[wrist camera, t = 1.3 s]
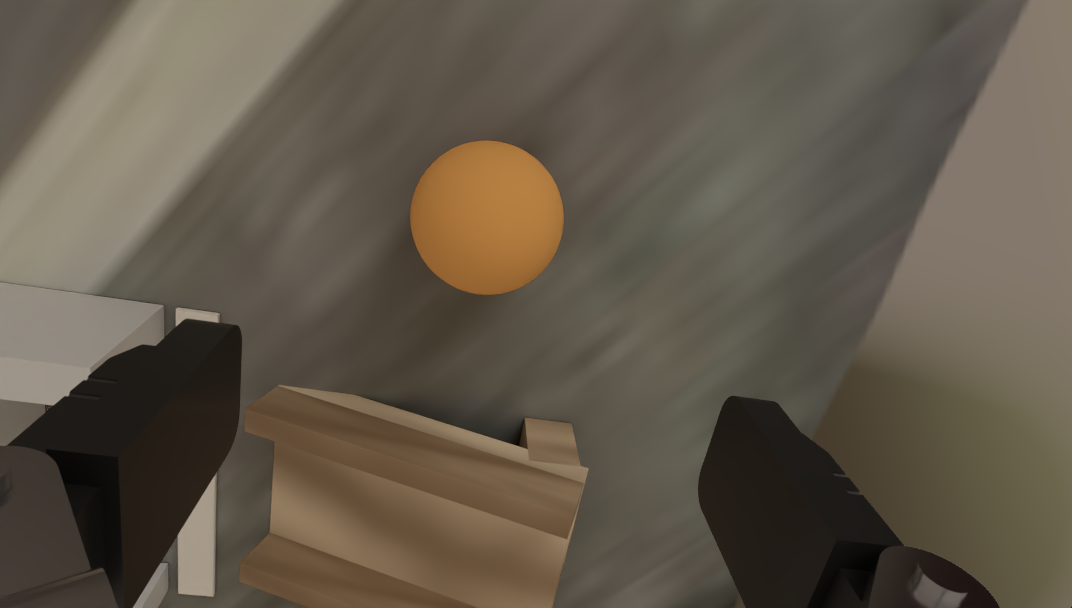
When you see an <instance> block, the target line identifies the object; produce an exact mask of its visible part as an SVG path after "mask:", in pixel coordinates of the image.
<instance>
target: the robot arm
mask: <svg viewBox="0 0 1072 608" xmlns="http://www.w3.org/2000/svg"><path fill="white" fill-rule="evenodd" d="M241 354H242V335H241V330H240V328H239V326H237V325H231V324H224V323H217V322H210V321H203V320H196V319H188V318H187V319H184V320H183V321H182V322H181V323H180V324H178V325H177V326H176V327H175V328H174V329H173V330H172V331H171V332H170V333H169V334H168V335H167V336H166V337H165V338H164V339H162V340H161V341H160V342H159V343H158V344H157V345H156V346H153V345H145V344H142V345H139V346H137V347H134V348H132V349H130V350H127V351H125V352H122V353H120V354H117V355H115V356H113V357H110V358H109V359H107V360H106V361H105V362H104V363H103V364H102V365H100V366H99V367H98V368H97V369H96V370H95V371H93V372H92V373H91V374H90V375H89V376H88V379H87V380H83V381H82V382H80V383H79V384H78V385H77V386H76V387H75V388H73V389H72V390H71V391H70V393H69V396H64V397H63V398H62V399H61V400H59V401H58V402H57V403H56V404H55V405H53V406H52V407H51V408H50V409H49V410H48V411H46V412H45V413H44V414H43V415H42V416H41V417H39V418H38V419H37V420H36V421H35V422H34V423H32V424H31V425H30V426H29V427H28V428H27V429H25V430H24V431H23V432H22V433H21V434H19V435H18V436H17V437H16V438H15V439H14V440H12V441H11V442H10V443H9V444H8V445H7V446H0V608H133V607H134V605H135V603H136V602H137V600H138V598H139V597H140V595H141V594H142V592H143V590H144V589H145V587H146V586H147V584H148V582H149V581H150V579H151V577H152V576H153V574H154V573H155V571H156V569H157V568H158V566H159V565H160V563H161V561H162V560H163V558H164V557H165V555H166V553H167V552H168V550H169V548H170V547H171V545H172V544H173V542H174V540H175V539H176V537H177V536H178V534H179V532H180V531H181V529H182V527H183V526H184V524H185V523H186V521H187V519H188V518H189V516H190V515H191V513H192V511H193V510H194V508H195V506H196V505H197V503H198V502H199V500H200V498H201V497H202V495H203V494H204V492H205V490H206V489H207V487H208V486H209V484H210V482H211V481H212V479H213V477H214V476H215V474H216V473H217V471H218V469H219V468H220V466H221V465H222V463H223V461H224V460H225V458H226V456H227V455H228V453H229V451H230V449H231V447H232V444H233V442H234V439H235V435H236V431H237V427H238V421H239V411H240V383H241ZM698 495H699V503H700V507H701V509H702V512H703V514H704V516H705V518H706V521H707V523H708V525H709V527H710V530H711V532H712V534H713V536H714V538H715V541H716V543H717V545H718V547H719V549H720V552H721V554H722V556H723V558H724V561H725V563H726V565H727V567H728V569H729V572H730V574H731V576H732V578H733V580H734V583H735V585H736V587H737V589H738V592H739V594H740V596H741V598H742V600H743V603H744V605H745V607H746V608H1000V607H999V605H998V603H997V601H996V600H995V598H994V597H993V596H992V595H991V593H990V592H989V591H988V590H987V589H986V588H985V587H984V586H983V585H982V584H981V583H980V582H979V581H978V580H977V579H975V578H974V577H973V576H972V575H970V574H969V573H968V572H966V571H965V570H963V569H962V568H960V567H959V566H957V565H955V564H954V563H952V562H950V561H948V560H946V559H944V558H942V557H940V556H938V555H936V554H933V553H931V552H928V551H925V550H922V549H918V548H914V547H909V546H904V545H903V544H902V542H901V541H900V540H899V539H898V537H897V536H896V535H895V534H894V533H893V531H892V530H891V529H890V528H889V526H888V525H887V524H886V523H885V522H884V520H883V519H882V518H881V517H880V515H879V514H878V513H877V512H876V511H875V509H874V508H873V507H872V506H871V505H870V503H869V502H868V501H867V500H866V498H865V497H864V496H863V495H859V490H858V488H857V487H856V486H855V485H854V484H853V482H852V481H851V480H850V479H849V478H847V477H845V473H844V471H843V470H842V469H841V468H840V466H839V465H838V464H837V463H836V462H835V460H834V459H833V458H832V457H831V456H830V454H829V453H828V452H826V451H825V450H824V449H823V448H821V447H820V446H818V445H817V444H816V443H814V442H813V441H812V440H810V439H809V438H808V437H806V436H805V435H804V434H802V433H801V432H800V431H799V430H798V428H797V427H796V426H795V425H794V423H793V422H792V421H791V420H790V418H789V417H788V416H787V414H786V413H785V412H784V411H783V409H782V408H781V407H780V406H779V405H778V404H777V403H776V402H774V401H767V400H760V399H753V398H746V397H739V396H730V397H729V398H728V399H727V400H726V401H725V402H724V404H723V406H722V409H721V411H720V414H719V417H718V420H717V423H716V426H715V429H714V432H713V435H712V438H711V441H710V444H709V447H708V450H707V453H706V456H705V459H704V462H703V465H702V468H701V472H700V476H699V484H698ZM1071 608H1072V607H1071Z"/></svg>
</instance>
